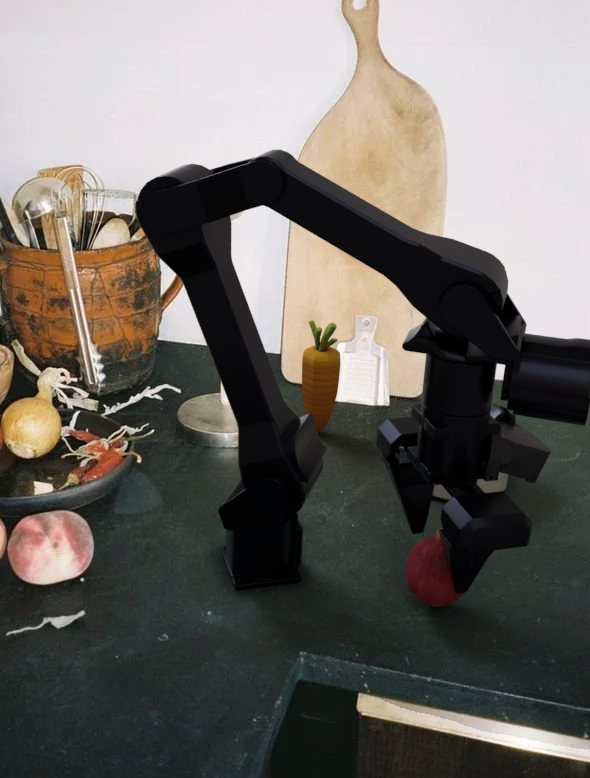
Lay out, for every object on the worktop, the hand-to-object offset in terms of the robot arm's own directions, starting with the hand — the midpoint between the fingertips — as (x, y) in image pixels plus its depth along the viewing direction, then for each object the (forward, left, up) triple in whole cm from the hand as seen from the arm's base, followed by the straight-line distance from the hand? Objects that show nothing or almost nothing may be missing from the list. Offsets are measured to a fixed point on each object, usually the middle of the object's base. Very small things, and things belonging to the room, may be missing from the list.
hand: (437, 560), depth 84 cm
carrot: (0, +35, -5) cm, 35 cm away
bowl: (+12, +21, -5) cm, 25 cm away
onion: (0, 0, -5) cm, 5 cm away
